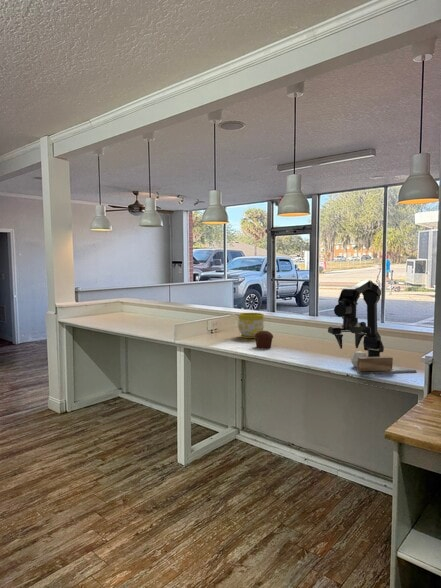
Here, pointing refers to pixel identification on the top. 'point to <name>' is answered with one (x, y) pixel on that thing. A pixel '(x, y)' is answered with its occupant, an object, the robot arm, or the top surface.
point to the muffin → (263, 339)
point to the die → (355, 357)
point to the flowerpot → (250, 324)
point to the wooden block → (375, 363)
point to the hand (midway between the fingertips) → (348, 348)
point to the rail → (388, 371)
